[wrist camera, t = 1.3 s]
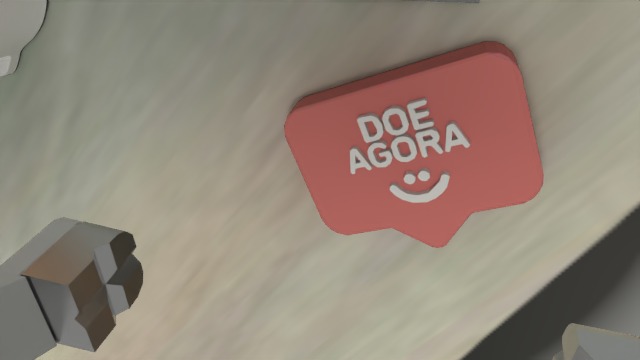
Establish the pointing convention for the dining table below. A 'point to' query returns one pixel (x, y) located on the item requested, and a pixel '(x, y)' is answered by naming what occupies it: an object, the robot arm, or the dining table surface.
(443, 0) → the felt mat
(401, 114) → the plaque
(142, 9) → the dining table surface
